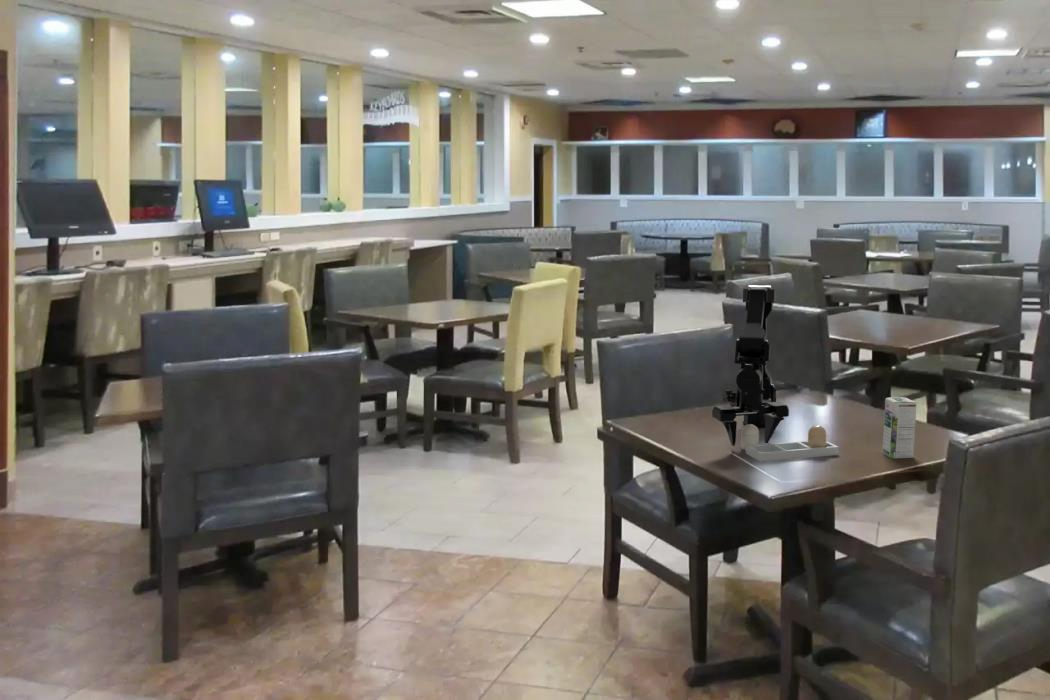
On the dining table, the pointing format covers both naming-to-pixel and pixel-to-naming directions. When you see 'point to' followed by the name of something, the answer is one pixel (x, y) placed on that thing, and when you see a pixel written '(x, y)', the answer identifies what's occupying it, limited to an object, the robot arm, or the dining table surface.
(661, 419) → the dining table surface
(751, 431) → the white capsule shape
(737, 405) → the robot arm
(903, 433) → the syrup box
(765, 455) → the divided compartment tray
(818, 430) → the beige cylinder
